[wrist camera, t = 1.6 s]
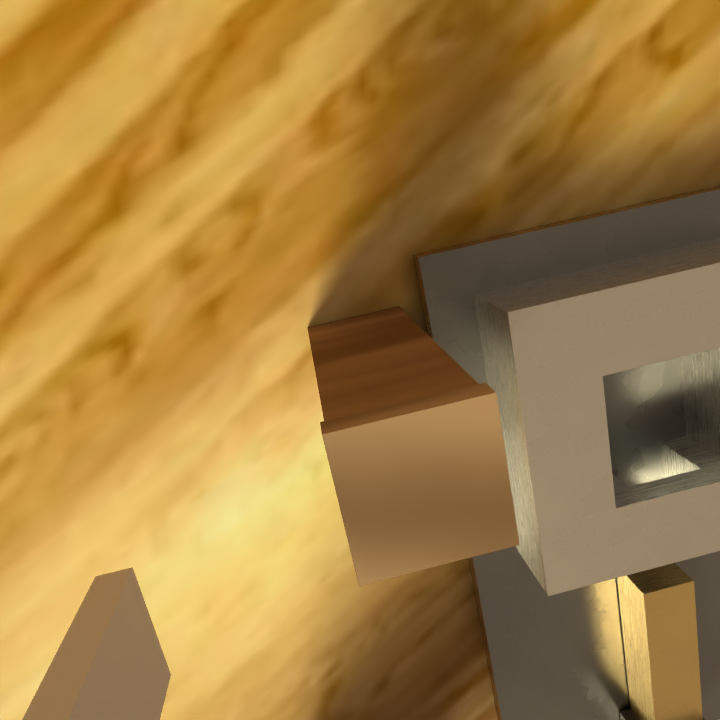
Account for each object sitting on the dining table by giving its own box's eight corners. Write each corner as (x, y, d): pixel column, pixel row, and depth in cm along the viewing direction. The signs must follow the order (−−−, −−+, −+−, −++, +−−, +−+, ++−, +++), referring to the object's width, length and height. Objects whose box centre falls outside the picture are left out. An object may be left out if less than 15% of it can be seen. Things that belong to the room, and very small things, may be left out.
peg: (304, 325, 26) (322, 434, 14) (400, 303, 26) (496, 392, 14) (326, 416, 27) (359, 586, 15) (418, 394, 27) (519, 544, 16)
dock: (413, 255, 26) (443, 269, 21) (769, 174, 27) (876, 169, 22) (505, 760, 33) (542, 855, 29) (778, 684, 34) (858, 763, 30)
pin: (603, 566, 29) (646, 615, 26) (673, 548, 30) (725, 594, 26) (622, 735, 32) (662, 799, 29) (685, 716, 33) (733, 778, 29)
